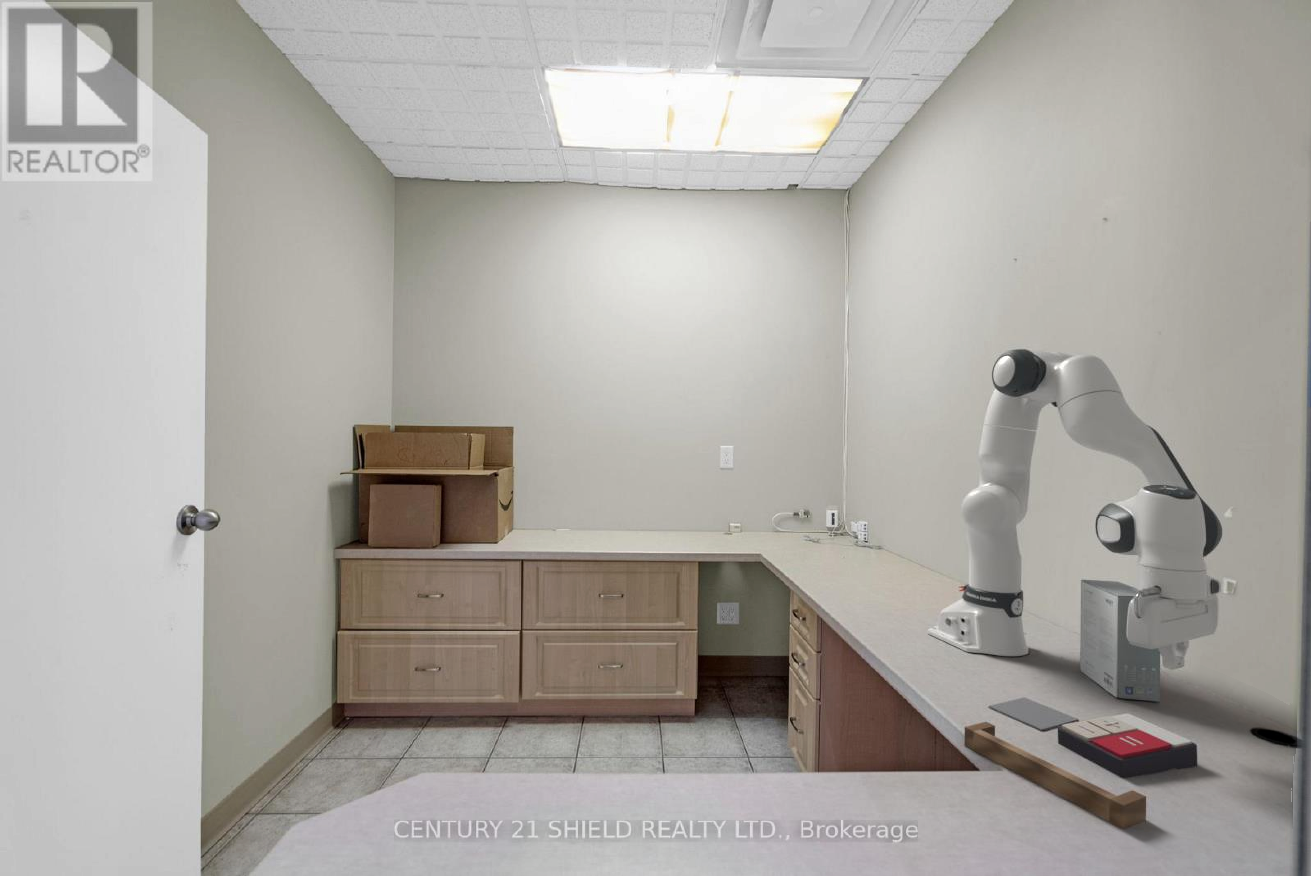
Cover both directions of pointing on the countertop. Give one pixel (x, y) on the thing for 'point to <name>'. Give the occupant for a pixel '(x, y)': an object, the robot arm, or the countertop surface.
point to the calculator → (1128, 745)
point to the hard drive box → (1115, 643)
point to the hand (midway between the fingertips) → (1173, 667)
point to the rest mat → (1033, 713)
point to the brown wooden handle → (1057, 778)
